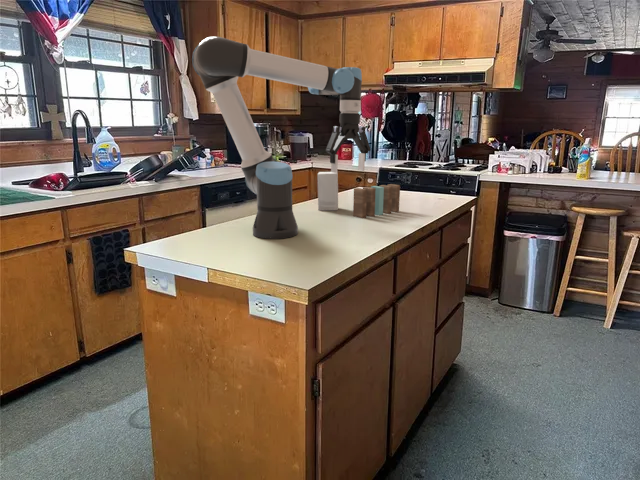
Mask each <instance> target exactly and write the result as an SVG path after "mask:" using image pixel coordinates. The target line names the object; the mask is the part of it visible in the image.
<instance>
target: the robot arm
mask: <svg viewBox="0 0 640 480" xmlns="http://www.w3.org/2000/svg"><path fill="white" fill-rule="evenodd" d="M191 61H192V67H193V69H194V71H195V73H196V74H197V75H198V76H199V77H200V79H201V82H202V84H203V87H204V88H205V90H206V91H207V92H209V93H211V94H212V95H213V98H214V99H215V102H216V104H217V106H218V108H219V109H218V110H219V111H220V114H221V115H222V117H223V120H224V122H225V125H226V126H227V130H228V131H229V133H230V135H231V138H232V140H233V143H234V144H235V146H236V149H237V151H238V154H239V156H240V158H241V162H240V163H241V164H240V169H241V172H242V173H243V176H244V181H245V184H246V187H247V188H248V189H249V191H251V192H252V193H253V194H255V195H256V204H257V205H256V207H257V208H256V210H257V211H256V214H255V218H254V222H253V224H252V225H253V226H252V235H253V236H254V237H257V238H261V239H268V240H269V239H270V240H276V239H279V240H280V239H287V238H292V237H294V236H297V235H298V234H299V227H298V224H297V220H296V218H295V215H294V212H293V177H294V176H293V171H292V170H293V169H292V167H291V165H289V163H286V162H281V161H275V159H274V157H273V155H272V152H269V151H267V150H266V149H265V147H264V145H263V142H262V140H261V137H260V135H259V133H258V130H257V128H256V126H255V123H254V122H253V119H252V116H251V113H250V111H249V110H248V109H249V108H248V107H247V104H246V103H245V99H244V98H243V96H242V93H241V91H240V88H239V86H238V80H239V78H244V77H245V76H251V77H256V78H261V79H265V80H271V81H275V82H281V83H286V84H291V85H295V86H301V87H304V88H305V87H306V88H307V89H308V92H309V93H310V94H312V95H317V96H319V95H325V96H331V95H332V96H339V111H340V113H339V121H338V122H339V125H340V126H337V125H334V126H333V128H332V132H331V136H330V138H329V140H328V143H327V146H326V148H325V152H326V153H328V155H330V156H329V162H330V165H331V166H330V172H334V173H337V172H338V163H339V162H338V161H339V159H338V157H339V155H338V154H337V153H338V151H339V150H340V148H341V147H342V145H343V144H344V142H345V141H346V140H348V139H349V140H353V141H354V143H355V144H356V146H357V148H358V150H359V153H358V164H357V165H358V166H357V171H362V172H363V171H365V166H366V161H367V154H369V152H371V147H370V144H369V140H368V136H367V134H366V127H365V126H362V125H360V123H361V114H360V112H361V103H362V102H361V101H362V99H361V96H362V82H363V79H362V78H363V77H362V69H361V68H360V67H356V66H347V67H346V66H345V67H341V68H340V67H339V68H337V67H333V66H332V67H331V66H326V65H324V64H318V63H314V62H310V61H306V60H301V59H296V58H292V57H289V56H288V57H287V56H284V55H283V56H282V55H280V54H275V53H271V52H270V53H269V52H265V51H263V50H262V51H261V50H257V49H252V48H251V47H250V46H249V44H247V43H243V42H239V41H235V40H232V39H229V38H226V37H221V36H208V37H206V38H204V39H202V40H201V42H199V44H197V46H196V47H195V48H194V50H193V52H192V58H191Z"/></svg>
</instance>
